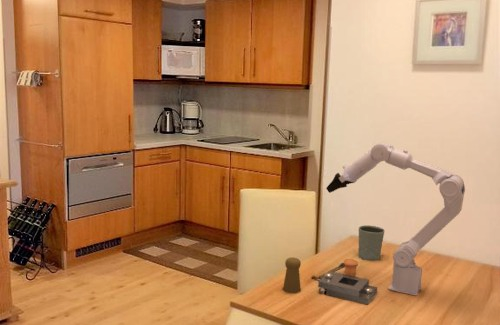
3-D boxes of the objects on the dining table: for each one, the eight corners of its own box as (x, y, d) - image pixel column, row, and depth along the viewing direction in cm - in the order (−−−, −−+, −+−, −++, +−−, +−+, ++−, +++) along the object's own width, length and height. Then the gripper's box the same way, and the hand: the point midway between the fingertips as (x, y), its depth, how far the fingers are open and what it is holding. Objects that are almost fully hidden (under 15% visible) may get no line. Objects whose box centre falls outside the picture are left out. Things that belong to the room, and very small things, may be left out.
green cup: (352, 253, 209) (354, 226, 207) (373, 252, 212) (375, 224, 210) (365, 262, 199) (367, 233, 198) (387, 260, 202) (389, 231, 201)
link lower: (377, 292, 171) (377, 284, 170) (367, 304, 161) (368, 295, 161) (337, 283, 178) (338, 275, 177) (326, 294, 168) (326, 286, 168)
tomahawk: (325, 286, 178) (326, 283, 177) (310, 279, 182) (310, 277, 182) (357, 270, 193) (357, 267, 193) (342, 264, 197) (342, 261, 197)
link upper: (368, 290, 172) (369, 276, 172) (358, 302, 163) (359, 287, 162) (329, 281, 179) (330, 268, 178) (317, 292, 170) (318, 278, 169)
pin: (358, 279, 182) (359, 260, 181) (354, 284, 178) (355, 265, 177) (345, 276, 185) (346, 258, 183) (340, 280, 180) (341, 262, 179)
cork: (289, 284, 176) (290, 254, 174) (304, 289, 172) (305, 258, 170) (279, 289, 171) (280, 258, 169) (294, 294, 167) (295, 263, 166)
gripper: (360, 155, 184) (332, 176, 190) (347, 160, 171) (317, 182, 178) (371, 171, 182) (343, 191, 189) (359, 177, 170) (329, 199, 176)
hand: (331, 188), depth 183 cm, fingers open, 7 cm apart
